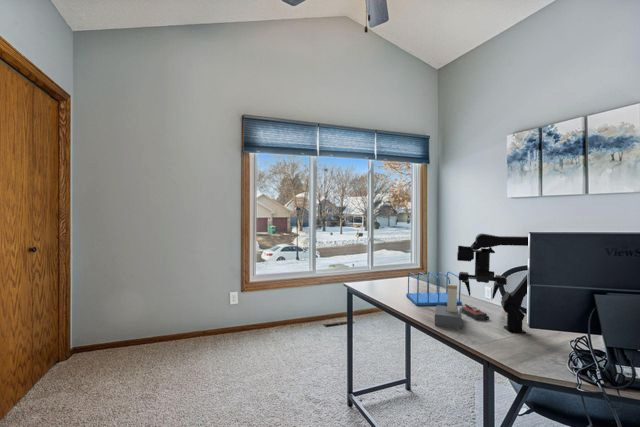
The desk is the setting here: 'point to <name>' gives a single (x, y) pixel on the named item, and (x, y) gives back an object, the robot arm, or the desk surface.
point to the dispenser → (447, 317)
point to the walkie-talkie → (474, 312)
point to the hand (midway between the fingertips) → (481, 297)
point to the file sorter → (428, 297)
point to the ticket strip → (451, 298)
